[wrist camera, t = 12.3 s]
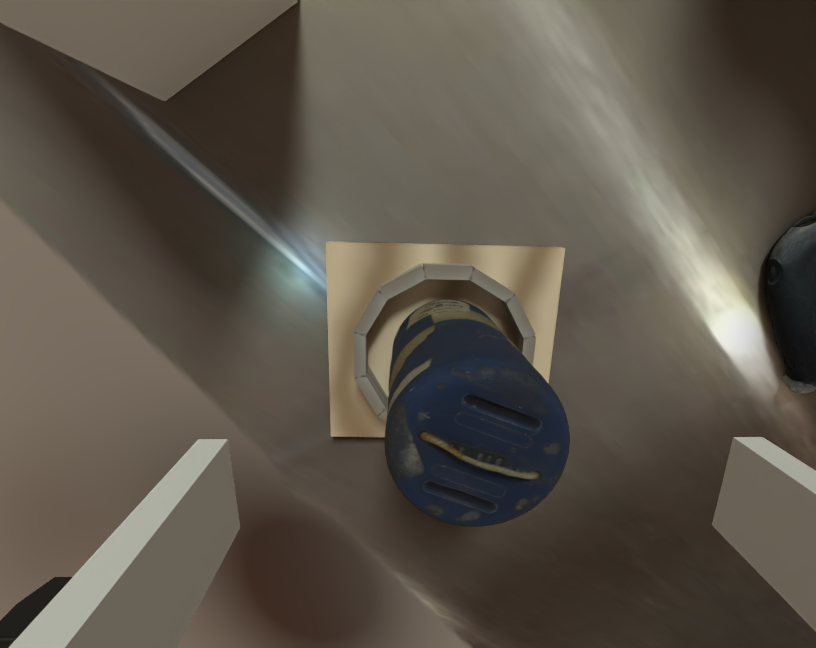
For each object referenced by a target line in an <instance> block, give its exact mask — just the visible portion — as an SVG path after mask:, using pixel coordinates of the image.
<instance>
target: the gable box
mask: <svg viewBox="0 0 816 648" xmlns="http://www.w3.org/2000/svg"><path fill="white" fill-rule="evenodd" d="M296 3H297V0H0V23H1V24H3V25H5V26H7V27H9V28H11V29H13V30H15V31H18V32H20V33H22V34H24V35H26V36H28V37H30V38H32V39H34V40H36V41H38V42H40V43H43V44H45V45H47V46H49V47H51V48H53V49H55V50H57V51H59V52H61V53H63V54H65V55H68V56H70V57H72V58H74V59H76V60H78V61H80V62H82V63H84V64H86V65H88V66H90V67H93V68H95V69H97V70H99V71H101V72H103V73H105V74H107V75H109V76H111V77H113V78H115V79H118V80H120V81H122V82H124V83H126V84H128V85H130V86H132V87H134V88H136V89H138V90H140V91H143V92H145V93H147V94H149V95H151V96H153V97H155V98H157V99H159V100H161V101H167V100H168V99H169V98H171V97H172V96H173V95H175V94H176V93H177V92H179V91H180V90H181V89H182V88H184V87H185V86H186V85H188V84H189V83H190V82H192V81H193V80H194V79H196V78H197V77H198V76H200V75H201V74H202V73H204V72H205V71H206V70H208V69H209V68H210V67H212V66H213V65H214V64H216V63H217V62H218V61H220V60H221V59H222V58H224V57H225V56H226V55H228V54H229V53H230V52H232V51H233V50H234V49H236V48H237V47H238V46H240V45H241V44H242V43H244V42H245V41H246V40H248V39H249V38H250V37H252V36H253V35H254V34H256V33H257V32H258V31H260V30H261V29H262V28H264V27H265V26H266V25H268V24H269V23H270V22H272V21H273V20H274V19H276V18H277V17H278V16H280V15H281V14H282V13H284V12H285V11H286V10H288V9H289V8H290V7H292V6H293V5H294V4H296Z"/></svg>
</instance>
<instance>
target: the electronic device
mask: <svg viewBox="0 0 816 648" xmlns="http://www.w3.org/2000/svg"><path fill="white" fill-rule="evenodd" d="M812 220H816V212H815V213H812V214H810V215H808V216H806V217H804V218H803V219H801V220H799V221H798V222H796V223H795V224H794V225H793V226H792V227H791V228H790V229H789V230H788V231H787V232H786V233H785V234H784V235H783V236H782V237H781V239H780V240H779V241H778V242H777V244H776V245H775V247H774V249H773V250H772V252H771V254H770V256H769V259H768V263H767V271H766V276H767V282H766V284H767V290H766V297H767V303H768V309H769V312H770V317H771V319H772V325H773V329H774V334H775V337H776V343H777V345H778V347H779V350H780V352H781V354H782V357H783V359H784V362H785V365H786V367H787V373H786V374H785V375H784V376H783V377H782V379H781V380H782V381H783V382H784V383H785V384H786V385H787V386H788V387H789V389H790V390H791V391H793V392H797V393H800V394H805V393H809V392H812V391H815V390H816V222H815V223H813V224H811V225H808V226H805V227H798V226H800V225H801V224H804V223H807V222H809V221H812Z"/></svg>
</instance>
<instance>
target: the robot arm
mask: <svg viewBox="0 0 816 648" xmlns="http://www.w3.org/2000/svg"><path fill="white" fill-rule="evenodd" d="M712 526H713V527H714V528H715V529H716V530H717V531H718V532H719V533H720V534H721V535H722V536H723V537H724V538H725V539H726V540H727V541H728V542H729V543H730V544H731V545H732V546H733V547H734V548H735V549H736V550H737V551H738V552H739V553H740V554H741V555H742V556H743V557H744V558H745V559H746V561H747V562H748V563H749V564H750V565H751V566H752V567H753V568H754V569H755V570H756V571H757V572H758V573H759V574H760V575H761V576H762V577H763V578H764V579H765V580H766V581H767V582H768V583H769V584H770V585H771V586H772V587H773V588H774V589H775V590H776V591H777V592H778V593H779V594H780V595H781V596H782V597H783V599H784V600H785V601H786V602H787V603H788V604H789V605H790V606H791V607H792V608H793V609H794V610H795V611H796V612H797V613H798V614H799V615H800V616H801V617H802V618H803V619H804V620H805V621H806V622H807V623H808V624H809V625H810V626H811V627H812V628H813V629H814V630H815V631H816V471H815V470H814V469H812V468H811V467H809V466H807V465H806V464H804V463H803V462H801V461H800V460H798V459H796V458H795V457H793V456H792V455H790V454H789V453H787V452H785V451H784V450H782V449H781V448H779V447H777V446H776V445H774V444H773V443H771V442H770V441H768V440H766V439H765V438H763V437H733V440H732V445H731V449H730V453H729V457H728V461H727V465H726V469H725V473H724V477H723V482H722V486H721V490H720V494H719V498H718V502H717V506H716V510H715V515H714V519H713V523H712ZM239 528H240V523H239V516H238V509H237V501H236V494H235V487H234V480H233V473H232V465H231V458H230V451H229V444H228V439H216V440H215V439H207V440H206V439H205V440H204V439H200V440H197V442H196V443H195V444H194V445H193V446H192V447H191V448H190V449H189V450H188V451H187V452H186V454H185V455H184V456H183V457H182V458H181V459H180V460H179V461H178V462H177V463H176V464H175V466H174V467H173V468H172V469H171V470H170V471H169V472H168V473H167V474H166V475H165V477H164V478H163V479H162V480H161V481H160V482H159V483H158V484H157V485H156V486H155V487H154V489H153V490H152V491H151V492H150V493H149V494H148V495H147V496H146V498H144V500H143V501H142V502H141V503H140V504H139V505H138V506H137V507H136V508H135V510H134V511H133V512H132V513H131V514H130V515H129V516H128V517H127V518H126V519H125V520H124V522H123V523H122V524H121V525H120V526H119V527H118V528H117V529H116V530H115V531H114V533H113V534H112V535H111V536H110V537H109V538H108V539H107V540H106V541H105V542H104V543H103V545H102V546H101V547H100V548H99V549H98V550H97V551H96V552H95V553H94V554H93V555H92V557H91V558H90V559H89V560H88V561H87V562H86V563H85V564H84V565H83V566H82V568H81V569H80V570H79V571H78V572H77V573H76V574H75V575H74V576H73V577H55V578H53V579H52V580H50V581H49V582H47V583H46V584H44V585H43V586H42V587H40V588H39V589H37V590H36V591H34V592H33V593H32V594H30V595H29V596H27V597H26V598H25V599H24V600H22V601H20V602H19V603H18V604H16V605H15V607H13V609H11V611H10V612H8V614H7V615H6V616H5V617H4V618H3V619H2V620H1V621H0V648H177V646H178V644H179V642H180V641H181V639H182V637H183V635H184V633H185V631H186V629H187V627H188V625H189V623H190V622H191V620H192V617H193V616H194V614H195V612H196V610H197V608H198V606H199V605H200V603H201V601H202V599H203V597H204V595H205V593H206V591H207V589H208V587H209V586H210V584H211V582H212V580H213V578H214V576H215V574H216V572H217V570H218V568H219V566H220V565H221V563H222V561H223V559H224V557H225V555H226V553H227V551H228V549H229V547H230V545H231V544H232V542H233V540H234V538H235V536H236V534H237V532H238V530H239Z"/></svg>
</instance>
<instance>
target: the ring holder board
mask: <svg viewBox="0 0 816 648" xmlns="http://www.w3.org/2000/svg"><path fill="white" fill-rule="evenodd" d="M564 254H565V248H562V247H536V246H496V245H456V244H415V243H375V242H335V241H328V242H326V273H327V310H328V347H329V383H330V420H331V437H385V428H386V421H387V410H388V397H389V374H390V365H391V359H392V348H393V343H394V338H395V335H396V333H397V331H398V329H399V327H400V326H401V324H402V323H403V321H404V320H405V319H406V318H407V317H408V316H409V315H410V314H411V313H412V312H413V311H415V310H416V309H417V308H419V307H421V306H423V305H425V304H427V303H430V302H433V301H437V300H443V299H453V300H460V301H464V302H467V303H470V304H472V305H474V306H476V307H477V308H479V309H480V310H482V311H483V312H484V313H486V314H487V315H488V316H489V317H490V319H491V320H492V321H493V322H494V323H495V324H496V325H497V327H498V328H499V329H500V330H501V331H502V332H503V333H504V334H505V335H506V337H508V338H509V339H510V340H511V341H512V342H513V343H514V344H515V346H516V347H517V348H518V349H519V351H520V352H521V353H522V354H523V355H524V356H525V357H526V359H527V360H528V361H529V362H530V363H531V365H532V366H533V367H534V368H535V369H536V370H537V371H538V372H539V373H540V374H541V375H542V376H543V377H544V379H545V380H546V381H547V383H548V382H549V374H550V366H551V358H552V350H553V342H554V334H555V326H556V318H557V310H558V302H559V294H560V286H561V278H562V270H563V262H564Z"/></svg>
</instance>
